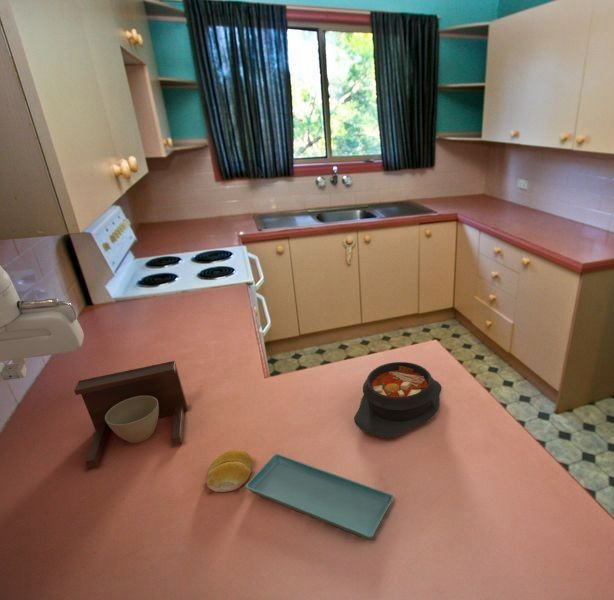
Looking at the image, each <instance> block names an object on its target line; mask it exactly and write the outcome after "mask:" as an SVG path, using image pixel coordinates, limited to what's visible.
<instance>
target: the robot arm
mask: <svg viewBox="0 0 614 600" xmlns="http://www.w3.org/2000/svg"><path fill="white" fill-rule="evenodd" d="M84 337H85V333H84V330H83V328H82V327H81V323H79V321H78V319H77V313H76V310H75V308H74V306H73V304H72V303H69V302H67V301H64V300H59V298H46V299H31V300H30V299H29V300H21V298H20V297H19V293H18V292H17V290H16V287H15V284H14V283H13V281H12V279H11V276H10V275H9V273H8V272H7V271H6V270H5V269H4V268H3V267H2V265H0V382H3V381H8V380H16V379H17V380H18V379H24V378H26V376H27V372H28V369H27V367H26V361H27V359H32V358H40V357H47V356H55V355H64V354H72V353H76V352H77V351H79V350H80V348H81V347H82V346H83V343H84V339H85V338H84ZM6 361H11V362H12V363H10V364H4V362H6Z"/></svg>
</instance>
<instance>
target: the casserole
mask: <svg viewBox="0 0 614 600" xmlns="http://www.w3.org/2000/svg"><path fill="white" fill-rule="evenodd" d="M441 392H442V385H441V383H440V382H439V381H437V380H436V379H434V378H433V377H432V375H431V373H430V372H429V371H428V370H427V368H425V367H423V366H421V365H419V364H416V363H413V362H406V361H393V362H387V363H385V364H381V365H380V366H377V367H375V368H374V369H372V370H371V371H370V372H369V374H368V375H367V378H366V379H365V381H364V382H363V385H362V393H363V396H362V397H361V400H360V403H359V407H358V409H357V411H356V413H355V415H354V417H353V421H354V424H355V425H356V426H357V427H358V429H360V430H361V431H363V432H364V433H366V434H369V435H372V436H374V437H379V438H390V439H391V438H395V437H398V436H401V435H402V434H404V433H406V432H407V431H409V430H411V429H413V428H416V427H418V426H421V425H423V424H425V423H427V422H429V421H430V420H432V418H434V416H436V415H437V413H438V411H439V408H440V404H441V403H440V395H441Z"/></svg>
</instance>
